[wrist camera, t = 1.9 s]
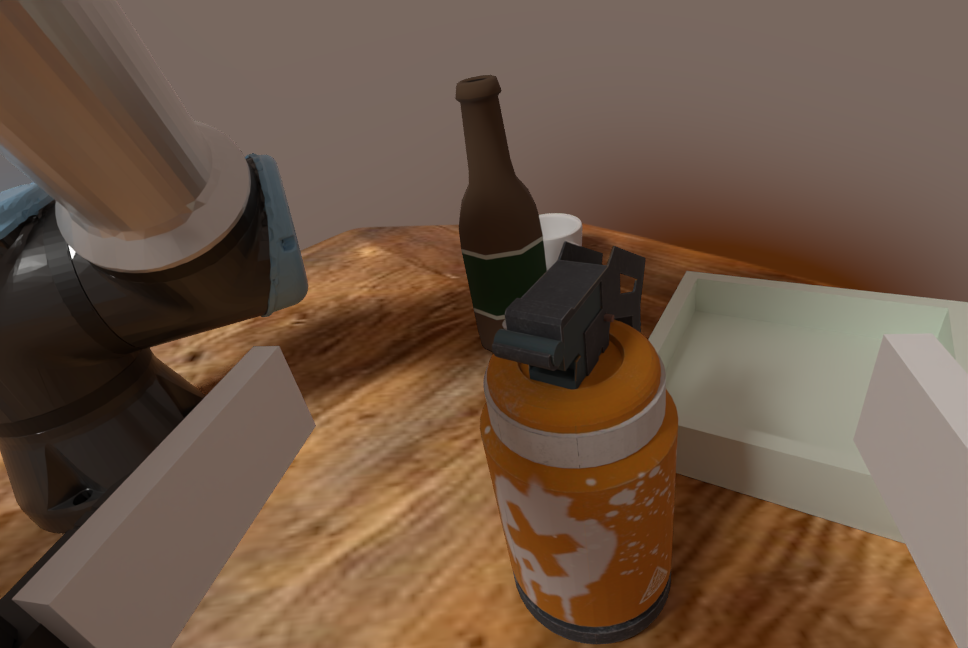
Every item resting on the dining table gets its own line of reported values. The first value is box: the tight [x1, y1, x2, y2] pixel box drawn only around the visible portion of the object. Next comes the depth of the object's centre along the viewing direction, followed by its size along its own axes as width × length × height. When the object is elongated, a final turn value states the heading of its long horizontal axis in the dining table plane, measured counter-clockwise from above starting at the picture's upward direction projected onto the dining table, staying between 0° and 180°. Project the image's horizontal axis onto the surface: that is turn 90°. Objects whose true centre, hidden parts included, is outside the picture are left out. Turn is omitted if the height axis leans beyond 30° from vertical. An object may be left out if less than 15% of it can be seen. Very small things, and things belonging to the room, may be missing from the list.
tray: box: [648, 271, 968, 543], centre depth 38 cm, size 20×20×4 cm
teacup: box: [539, 213, 582, 270], centre depth 62 cm, size 10×8×5 cm
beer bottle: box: [456, 75, 547, 352], centre depth 46 cm, size 8×8×24 cm
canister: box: [480, 241, 678, 644], centre depth 26 cm, size 9×11×20 cm
